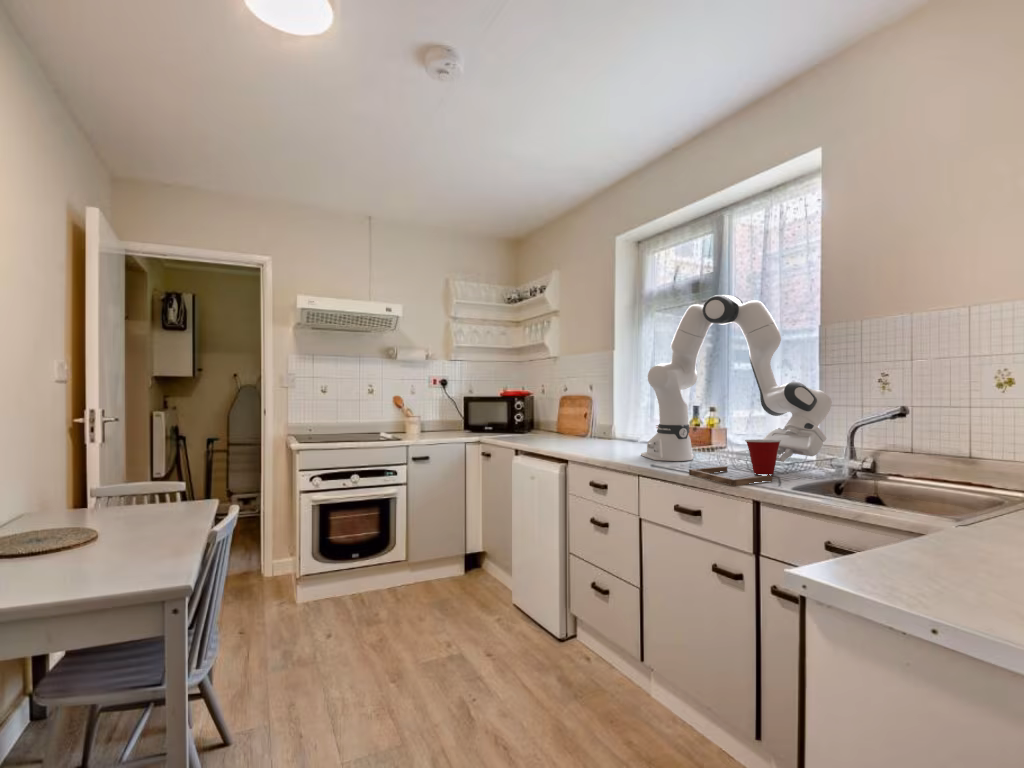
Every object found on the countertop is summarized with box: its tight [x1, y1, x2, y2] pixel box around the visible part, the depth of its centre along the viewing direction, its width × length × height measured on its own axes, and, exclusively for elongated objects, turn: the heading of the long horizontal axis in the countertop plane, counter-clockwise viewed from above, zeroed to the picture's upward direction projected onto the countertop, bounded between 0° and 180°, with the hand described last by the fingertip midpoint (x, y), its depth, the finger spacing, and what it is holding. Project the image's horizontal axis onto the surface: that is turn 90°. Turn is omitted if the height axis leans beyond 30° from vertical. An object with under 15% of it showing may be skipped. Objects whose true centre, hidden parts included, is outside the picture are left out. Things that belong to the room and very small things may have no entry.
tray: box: [688, 465, 773, 487], centre depth 163 cm, size 20×15×2 cm
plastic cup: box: [744, 438, 781, 475], centre depth 168 cm, size 11×11×12 cm
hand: (778, 460), depth 170 cm, fingers closed
